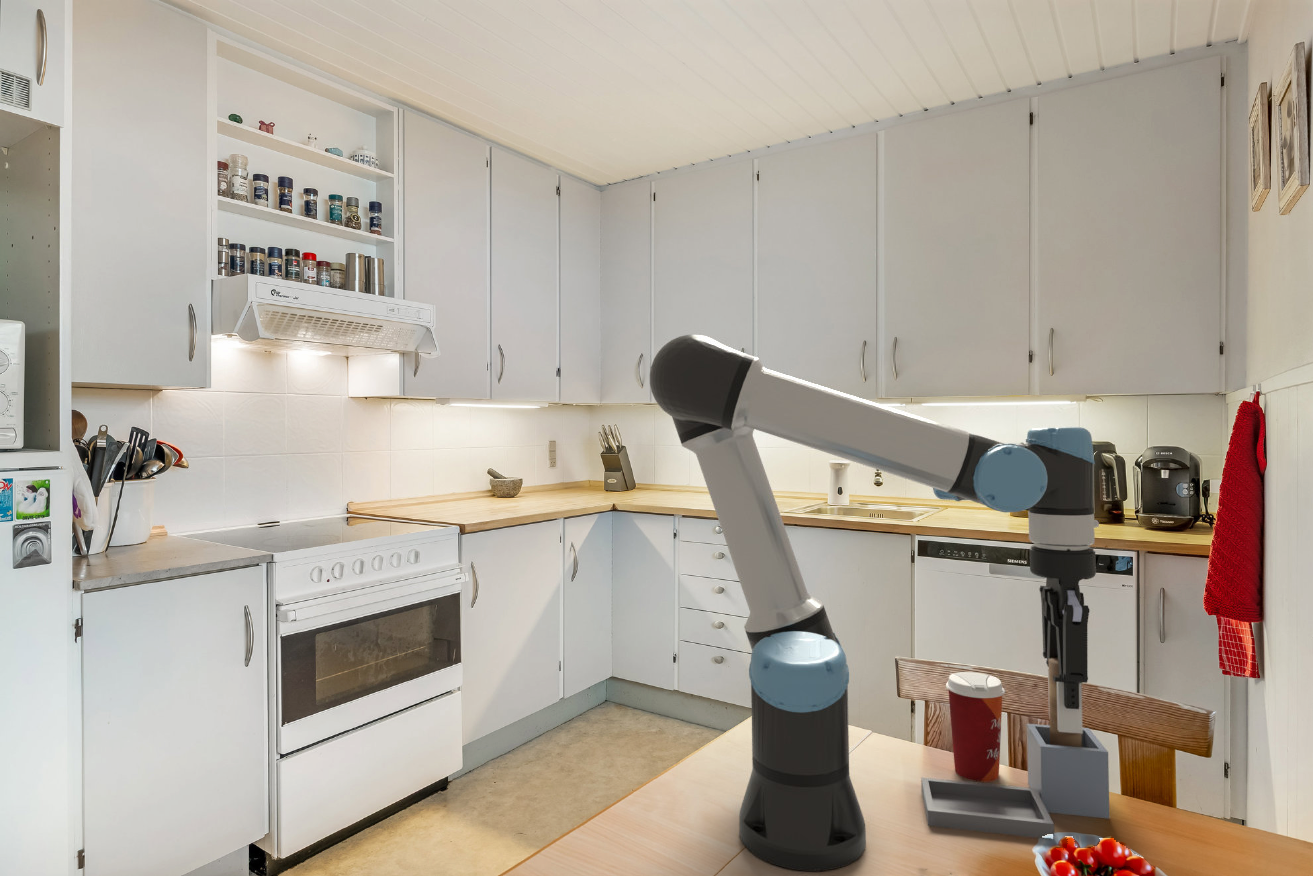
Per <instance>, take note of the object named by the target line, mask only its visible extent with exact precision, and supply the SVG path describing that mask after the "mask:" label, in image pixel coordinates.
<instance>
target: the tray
mask: <svg viewBox="0 0 1313 876" xmlns="http://www.w3.org/2000/svg"><path fill="white" fill-rule="evenodd" d="M920 780H921V781H920V782H921V783H920V784H921V785H920V787H921V789H920V790H921V795H922V800H923V801H922V802H923V807H924V811H925V817H926V822H927V826H930V827H937V828H938V827H939V828H947V829H948V828H949V829H954V830H955V829H957V830H965V831H974V832H975V831H976V832H982V833H983V832H984V833H991V834H992V833H993V834H1000V835H1008V836H1009V835H1011V836H1016V837H1017V836H1018V837H1019V836H1020V837H1025V838H1026V837H1027V838H1036V839H1043V838H1042V836H1045V835H1047V834H1054V835H1055V824H1054V822H1053V820H1052V818H1051V815H1050V812H1047V810H1046V808H1045V806H1044V804H1043V802H1042V800H1041V798H1040V796H1039V794H1038V792H1037V790H1036V788H1030V787H1024V786H1016V785H1015V786H1014V785H1004V784H995V783H986V782H976V781H963V780H953V779H945V778H944V779H942V778H931V777H920Z"/></svg>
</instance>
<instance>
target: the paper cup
mask: <svg viewBox="0 0 1313 876" xmlns="http://www.w3.org/2000/svg"><path fill="white" fill-rule="evenodd" d="M1002 684H1003V683H1002V682H1001V680H1000V679H999V678H998V677H995V676H993V675H990V674H987V673H982V672H973V671H960V672H954V673H951V674H950V675H949V676H948V681H947V682H946V684H945V687H946V689H947V690H948V691H947V692H948V701H949V703H948V704H949V715H950V716H949V717H950V729H951V739H952V741H951V742H952V752H953V753H952V754H953V762H954V770H955V773H956V774H957V775H959V777H962V778H964V779H967V780H970V781H972V782H978V783H989V782H994V781H996V780H998V779H999V777H1000V776H999V774H1000V761H1001V760H1000V759H1001V758H1000V757H1001V737H1002V736H1001V734H1002V713H1003V710H1002V709H1003V696H1004V695H1005V693H1006V690H1005V688H1003V685H1002Z"/></svg>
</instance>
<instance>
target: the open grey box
mask: <svg viewBox="0 0 1313 876" xmlns="http://www.w3.org/2000/svg"><path fill="white" fill-rule="evenodd" d="M1081 739H1082V747H1071V746H1059V745H1050V724H1035V723H1026V742H1027V743H1026V745H1027V746H1026V747H1027V748H1026V749H1027V751H1026V752H1027V755H1026V756H1027V785H1028V786H1029V787H1028V788H1036V790H1037V792H1038V794H1039V796H1040V798H1041V800H1042V802H1043V804H1044V806H1045V808H1046V810H1047V812H1048V813H1049V814H1050V813H1052V814H1061V815H1072V816H1080V817H1091V818H1098V819H1099V818H1101V819H1109V820H1110V779H1109V778H1110V775H1109V751H1108V750H1107V748H1105V746H1104V745H1103V744H1102V742H1101V741H1100V740H1099V739H1098V738H1097V736H1096V735H1095V734H1094V732H1093V731H1092V730H1091V729H1090V728H1089V727H1083V734H1081Z"/></svg>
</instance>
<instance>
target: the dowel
mask: <svg viewBox="0 0 1313 876" xmlns="http://www.w3.org/2000/svg"><path fill="white" fill-rule="evenodd" d="M1048 662H1049V667H1048V669H1049V697H1048V716H1049V715H1050V718H1049V725H1050V745H1059V746H1071V747H1082V739H1081V733H1068V732H1059V731H1058V730H1057V682H1054V680H1053V676H1059V666H1058V658H1051V659H1049V660H1048Z"/></svg>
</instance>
